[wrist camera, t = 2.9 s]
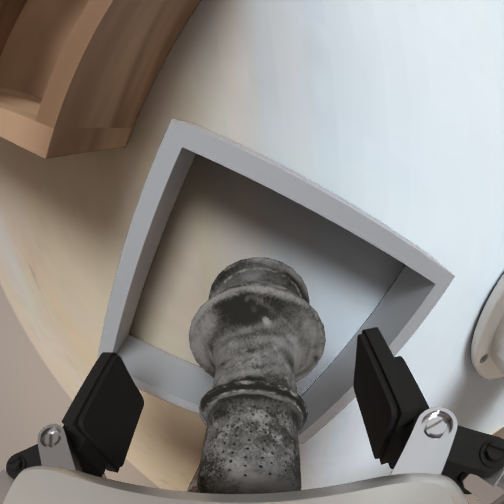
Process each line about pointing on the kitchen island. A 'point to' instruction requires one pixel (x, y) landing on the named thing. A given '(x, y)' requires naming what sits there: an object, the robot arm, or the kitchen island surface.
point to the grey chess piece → (254, 376)
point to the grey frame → (299, 190)
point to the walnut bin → (81, 69)
